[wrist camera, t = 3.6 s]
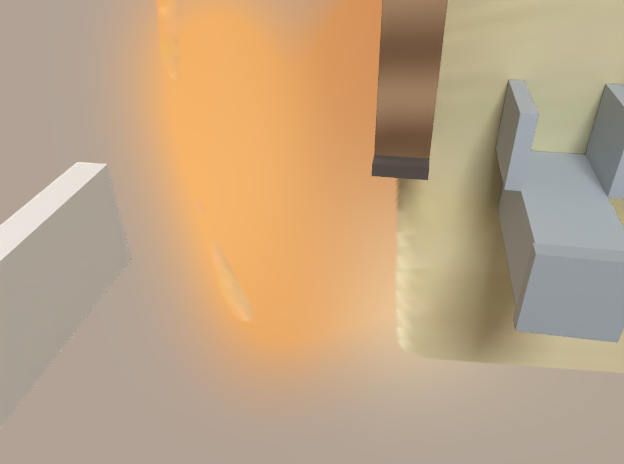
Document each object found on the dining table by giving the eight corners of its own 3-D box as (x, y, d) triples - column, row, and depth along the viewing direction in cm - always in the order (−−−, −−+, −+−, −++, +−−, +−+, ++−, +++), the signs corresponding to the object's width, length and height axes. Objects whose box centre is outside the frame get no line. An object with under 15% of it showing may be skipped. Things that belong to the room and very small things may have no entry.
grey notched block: (508, 79, 35) (539, 169, 25) (622, 84, 34) (706, 180, 24) (483, 211, 41) (500, 329, 31) (580, 218, 40) (633, 344, 29)
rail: (395, -127, 30) (387, -126, 25) (458, -128, 30) (463, -128, 25) (380, 135, 39) (371, 175, 34) (428, 138, 39) (427, 179, 34)
